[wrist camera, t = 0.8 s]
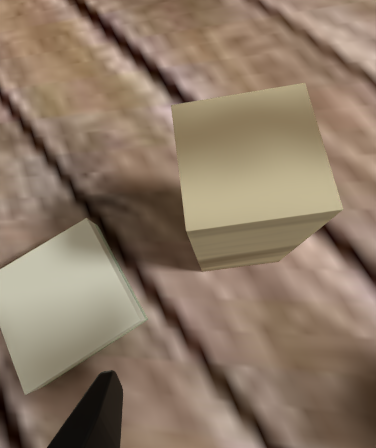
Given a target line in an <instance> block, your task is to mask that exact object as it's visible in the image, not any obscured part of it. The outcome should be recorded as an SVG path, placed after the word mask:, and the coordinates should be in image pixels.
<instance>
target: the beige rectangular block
mask: <svg viewBox="0 0 376 448" xmlns="http://www.w3.org/2000/svg"><path fill="white" fill-rule="evenodd" d="M171 109H172V117H173V125H174V134H175V142H176V151H177V159H178V167H179V176H180V184H181V192H182V201H183V209H184V218H185V226H186V232H187V235H188V237H189V240H190V242H191V245H192V247H193V250H194V253H195V255H196V258H197V260H198V263H199V265H200V268H201V270H202V272H204V271H212V270H219V269H227V268H235V267H242V266H250V265H257V264H265V263H273V262H279V261H280V260H281V259H282V258H284V257H285V256H286V255H287V254H289V253H290V252H291V251H292V250H294V249H295V248H296V247H297V246H299V245H300V244H301V243H302V242H304V241H305V240H306V239H307V238H308V237H310V236H311V235H312V234H313V233H315V232H316V231H317V230H318V229H320V228H321V227H322V226H323V225H325V224H326V223H327V222H328V221H330V220H331V219H332V218H333V217H335V216H336V215H337V214H338V213H339V212H341V211H342V210H343V207H342V204H341V201H340V197H339V194H338V191H337V187H336V184H335V181H334V177H333V174H332V171H331V167H330V164H329V161H328V157H327V154H326V151H325V147H324V144H323V141H322V137H321V134H320V131H319V128H318V124H317V121H316V118H315V114H314V111H313V108H312V104H311V101H310V98H309V94H308V91H307V88H306V84H305V83H301V84H295V85H289V86H283V87H277V88H271V89H266V90H260V91H254V92H248V93H242V94H236V95H230V96H224V97H218V98H212V99H206V100H200V101H194V102H188V103H182V104H176V105H171Z"/></svg>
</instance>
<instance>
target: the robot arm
mask: <svg viewBox="0 0 376 448" xmlns="http://www.w3.org/2000/svg"><path fill="white" fill-rule="evenodd" d="M122 405H123V389H122V385H121V383H120V381H119V379H118V376H117V374H116V372H115V371H113V370H111V371H104V372H101V373H100V374H99V375H98V376H97V378H96V379H95V381H94V382H93V383H92V385H91V386H90V388H89V389H88V390H87V392H86V393H85V395H84V396H83V398H82V399H81V400H80V402H79V403H78V405H77V406H76V407H75V409H74V410H73V412H72V413H71V414H70V416H69V417H68V419H67V420H66V421H65V423H64V424H63V426H62V427H61V429H60V430H59V431H58V433H57V434H56V436H55V437H54V438H53V440H52V441H51V443H50V444H49V445H48V447H47V448H120V439H121V422H122Z"/></svg>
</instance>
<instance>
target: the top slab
mask: <svg viewBox="0 0 376 448" xmlns="http://www.w3.org/2000/svg"><path fill="white" fill-rule="evenodd" d="M145 320H146V319H145V317H144V316H143V314H142V312H141V310H140V308H139V306H138V304H137V303H136V301H135V299H134V297H133V295H132V293H131V291H130V289H129V288H128V286H127V284H126V282H125V280H124V278H123V276H122V275H121V273H120V271H119V269H118V267H117V265H116V263H115V261H114V260H113V258H112V256H111V254H110V252H109V250H108V248H107V247H106V245H105V243H104V241H103V239H102V237H101V235H100V234H99V232H98V230H97V228H96V226H95V224H94V223H93V222H91V221H90V220H89V219H87V218H85V219H84V220H82V221H80V222H79V223H77V224H75V225H74V226H72V227H70V228H69V229H67V230H65V231H64V232H62V233H60V234H59V235H57V236H55V237H54V238H52V239H50V240H49V241H47V242H45V243H44V244H42V245H40V246H39V247H37V248H35V249H33V250H32V251H30V252H28V253H27V254H25V255H23V256H22V257H20V258H18V259H17V260H15V261H13V262H12V263H10V264H8V265H7V266H5V267H3V268H2V269H0V328H1V331H2V334H3V337H4V339H5V342H6V345H7V348H8V350H9V353H10V356H11V358H12V361H13V364H14V367H15V369H16V372H17V375H18V378H19V380H20V383H21V386H22V389H23V391H24V394H25V395H26V394H29V393H31V392H33V391H35V390H38V389H39V388H41V387H43V386H44V385H46V384H47V383H49V382H50V381H52V380H53V379H55V378H56V377H58V376H60V375H61V374H63V373H64V372H66V371H67V370H69V369H70V368H72V367H74V366H75V365H77V364H78V363H80V362H81V361H83V360H84V359H86V358H87V357H89V356H91V355H92V354H94V353H95V352H97V351H98V350H100V349H101V348H103V347H105V346H106V345H108V344H109V343H111V342H112V341H114V340H115V339H117V338H119V337H120V336H122V335H123V334H125V333H126V332H128V331H129V330H131V329H132V328H134V327H136V326H137V325H139V324H140V323H142V322H143V321H145Z"/></svg>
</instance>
